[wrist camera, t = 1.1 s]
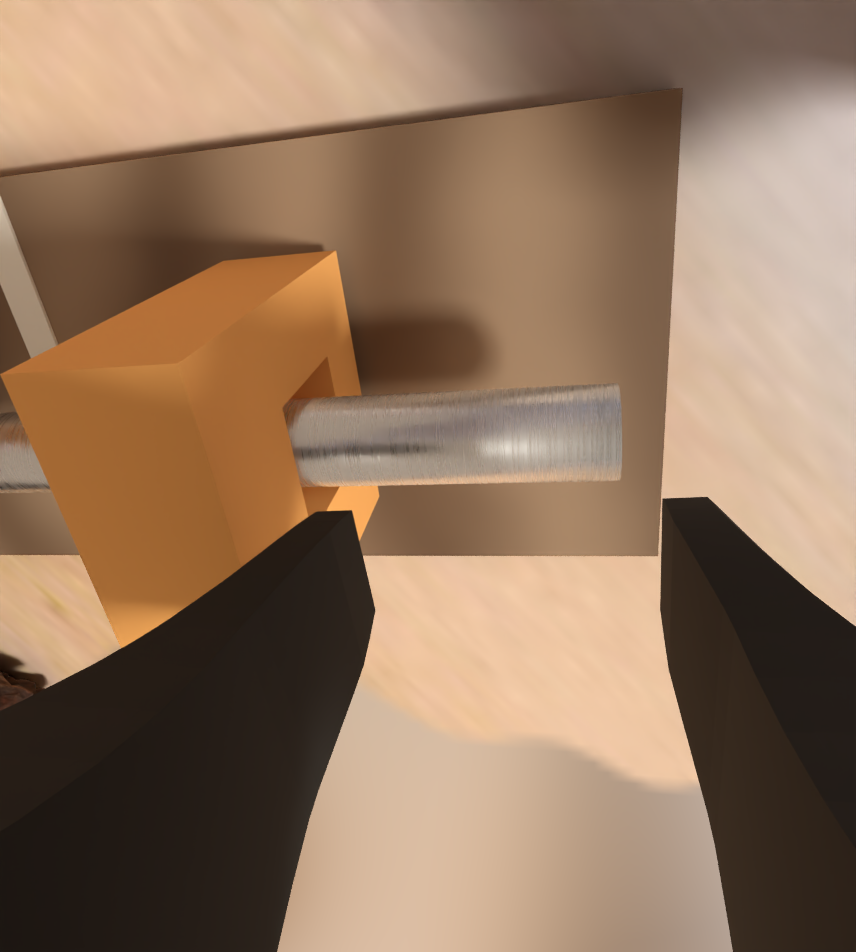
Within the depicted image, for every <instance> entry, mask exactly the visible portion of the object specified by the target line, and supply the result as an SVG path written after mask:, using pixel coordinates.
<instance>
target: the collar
mask: <svg viewBox="0 0 856 952" xmlns="http://www.w3.org/2000/svg"><path fill="white" fill-rule="evenodd" d="M0 375H1V378H2V380H3V382H4V384H5V387H6V389H7V391H8V393H9V396H10V398H11V400H12V402H13V405H14V407H15V409H16V411H17V414H18V416H19V418H20V421H21V423H22V425H23V427H24V430H25V432H26V434H27V436H28V439H29V441H30V443H31V445H32V448H33V450H34V452H35V454H36V457H37V459H38V461H39V463H40V466H41V468H42V470H43V473H44V475H45V477H46V479H47V482H48V484H49V486H50V488H51V491H52V493H53V495H54V497H55V500H56V502H57V504H58V506H59V509H60V511H61V513H62V515H63V518H64V520H65V522H66V525H67V527H68V529H69V531H70V534H71V536H72V538H73V540H74V543H75V545H76V547H77V549H78V552H79V554H80V556H81V558H82V561H83V563H84V565H85V567H86V570H87V572H88V574H89V577H90V579H91V581H92V583H93V586H94V588H95V590H96V592H97V595H98V597H99V599H100V601H101V604H102V606H103V608H104V610H105V613H106V615H107V617H108V619H109V622H110V624H111V626H112V629H113V631H114V633H115V635H116V638H117V640H118V642H119V644H120V647H121V648H123V647H124V646H126V645H128V644H130V643H131V642H133V641H135V640H136V639H138V638H140V637H141V636H143V635H145V634H146V633H148V632H149V631H151V630H152V629H154V628H156V627H157V626H159V625H160V624H162V623H163V622H165V621H166V620H168V619H170V618H171V617H173V616H174V615H175V614H177V613H178V612H180V611H181V610H183V609H184V608H185V607H187V606H188V605H190V604H191V603H192V602H194V601H195V600H197V599H198V598H200V597H201V596H202V595H204V594H205V593H207V592H208V591H210V590H211V589H212V588H214V587H215V586H217V585H218V584H219V583H221V582H222V581H224V580H225V579H226V578H228V577H229V576H230V575H232V574H233V573H234V572H236V571H237V570H238V569H240V568H241V567H242V566H243V565H245V564H246V563H247V562H249V561H250V560H251V559H253V558H254V557H255V556H257V555H258V554H259V553H261V552H262V551H263V550H264V549H266V548H267V547H268V546H270V545H271V544H272V543H273V542H275V541H276V540H277V539H279V538H280V537H281V536H283V535H284V534H285V533H286V532H288V531H289V530H290V529H292V528H293V527H294V526H296V525H297V524H299V523H300V522H301V521H303V520H304V519H306V518H307V517H309V516H310V515H312V514H313V513H315V512H317V511H342V510H352V512H353V516H354V520H355V525H356V529H357V533H358V538H359V541H360V539H361V537H362V534H363V532H364V530H365V527H366V525H367V523H368V521H369V518H370V516H371V514H372V512H373V509H374V507H375V505H376V503H377V500H378V498H379V491H378V486H336V487H301V484H300V480H299V476H298V471H297V467H296V463H295V459H294V455H293V450H292V446H291V442H290V438H289V434H288V429H287V425H286V421H285V417H284V413H283V408H282V407H283V406H284V405H285V404H286V403H287V402H288V401H289V399H298V398H318V397H339V396H360V395H362V394H361V389H360V383H359V377H358V372H357V366H356V360H355V355H354V349H353V344H352V338H351V332H350V327H349V321H348V315H347V310H346V304H345V298H344V293H343V287H342V281H341V276H340V270H339V264H338V259H337V253H336V250H333V251H322V252H312V253H301V254H291V255H280V256H269V257H259V258H248V259H237V260H227V261H222V262H220V263H218V264H216V265H214V266H212V267H210V268H208V269H206V270H204V271H202V272H200V273H198V274H196V275H194V276H193V277H191V278H189V279H187V280H185V281H183V282H181V283H179V284H177V285H175V286H173V287H171V288H169V289H167V290H165V291H163V292H161V293H159V294H157V295H155V296H153V297H151V298H149V299H147V300H145V301H143V302H141V303H139V304H137V305H135V306H134V307H132V308H130V309H128V310H126V311H124V312H122V313H120V314H118V315H116V316H114V317H112V318H110V319H108V320H106V321H104V322H102V323H100V324H98V325H96V326H94V327H92V328H90V329H88V330H86V331H84V332H82V333H80V334H78V335H76V336H74V337H73V338H71V339H69V340H67V341H65V342H63V343H61V344H59V345H57V346H55V347H53V348H51V349H49V350H47V351H45V352H43V353H41V354H39V355H37V356H35V357H33V358H31V359H29V360H27V361H25V362H23V363H21V364H19V365H17V366H15V367H14V368H12V369H10V370H8V371H6V372H4V373H2V374H0Z"/></svg>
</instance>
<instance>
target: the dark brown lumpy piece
mask: <svg viewBox="0 0 856 952" xmlns="http://www.w3.org/2000/svg"><path fill="white" fill-rule="evenodd" d="M44 689H45V688H37V689H36V684H35V683H34V682H32V681H29V680H25V679H22V680H16V679H14V678H13V677H8V673H3V672H0V711H1V710H3V709H5V708H7V707H9V706H12V705H14V704H16V703H18V702H20V701H22V700H24V699H26V698H28V697H30V696H32V695H34V694H36V693H38V692H40V691H42V690H44Z"/></svg>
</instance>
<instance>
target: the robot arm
mask: <svg viewBox="0 0 856 952" xmlns="http://www.w3.org/2000/svg"><path fill="white" fill-rule="evenodd" d="M660 610H661V618H662V625H663V632H664V640H665V647H666V653H667V660H668V667H669V672H670V676H671V679H672V683H673V687H674V691H675V695H676V698H677V702H678V706H679V709H680V713H681V717H682V721H683V724H684V728H685V732H686V735H687V739H688V743H689V746H690V750H691V754H692V757H693V761H694V765H695V768H696V772H697V776H698V779H699V783H700V787H701V791H702V794H703V798H704V801H705V805H706V809H707V813H708V817H709V821H710V825H711V830H712V835H713V838H714V843H715V848H716V854H717V860H718V865H719V871H720V876H721V883H722V889H723V895H724V900H725V906H726V912H727V918H728V924H729V930H730V936H731V942H732V948H733V952H856V626H854V625H853V624H851V623H850V622H849V621H847V620H846V619H845V618H844V617H842V616H841V615H840V614H838V613H837V612H836V611H834V610H833V609H832V608H831V607H829V606H828V605H827V604H825V603H824V602H823V601H821V600H820V599H819V598H818V597H816V596H815V595H814V594H812V593H811V592H810V591H809V590H808V589H806V588H805V587H804V586H803V585H802V584H800V583H799V582H798V581H797V580H796V579H795V578H794V577H792V576H791V575H790V574H789V573H788V572H787V571H786V570H784V569H783V568H782V567H781V566H780V565H779V564H778V563H776V562H775V561H774V560H773V559H772V558H771V557H770V556H769V555H768V554H767V553H765V552H764V551H763V550H762V549H761V548H760V547H759V546H758V545H757V544H756V543H755V542H754V541H753V540H752V539H751V538H749V537H748V536H747V535H746V534H745V533H744V532H743V531H742V530H741V529H740V528H739V527H738V526H737V525H736V524H735V523H734V522H733V521H732V520H731V519H730V518H729V517H728V516H727V515H726V514H725V513H724V512H723V511H722V510H721V509H720V508H719V507H718V506H717V505H716V504H714V503H713V502H712V501H711V500H710V499H709V498H708V497H694V498H667V499H663V503H662V552H661V600H660ZM374 614H375V607H374V602H373V598H372V594H371V589H370V585H369V581H368V576H367V572H366V568H365V564H364V559H363V555H362V551H361V546H360V542H359V538H358V533H357V529H356V525H355V520H354V516H353V512H352V510H342V511H317V512H315V513H313V514H312V515H310V516H309V517H307V518H306V519H304V520H303V521H301V522H300V523H299V524H297V525H296V526H294V527H293V528H292V529H290V530H289V531H288V532H286V533H285V534H284V535H283V536H281V537H280V538H279V539H277V540H276V541H275V542H273V543H272V544H271V545H270V546H268V547H267V548H266V549H264V550H263V551H262V552H261V553H259V554H258V555H257V556H255V557H254V558H253V559H251V560H250V561H249V562H247V563H246V564H245V565H243V566H242V567H241V568H240V569H238V570H237V571H236V572H234V573H233V574H232V575H230V576H229V577H228V578H226V579H225V580H224V581H222V582H221V583H219V584H218V585H217V586H215V587H214V588H212V589H211V590H210V591H208V592H207V593H205V594H204V595H202V596H201V597H200V598H198V599H197V600H195V601H194V602H192V603H191V604H190V605H188V606H187V607H185V608H184V609H183V610H181V611H180V612H178V613H177V614H175V615H174V616H173V617H171V618H170V619H168V620H166V621H165V622H163V623H162V624H160V625H159V626H157V627H156V628H154V629H152V630H151V631H149V632H148V633H146V634H145V635H143V636H141V637H140V638H138V639H136V640H135V641H133V642H131V643H130V644H128V645H126V646H124V647H123V648H121V649H119V650H118V651H116V652H114V653H113V654H111V655H109V656H107V657H106V658H104V659H102V660H100V661H98V662H97V663H95V664H93V665H91V666H89V667H87V668H85V669H83V670H81V671H79V672H77V673H76V674H74V675H72V676H70V677H68V678H66V679H64V680H62V681H60V682H58V683H56V684H54V685H52V686H50V687H48V688H46V689H44V690H42V691H40V692H38V693H36V694H34V695H32V696H30V697H28V698H26V699H24V700H22V701H20V702H18V703H16V704H14V705H12V706H9V707H7V708H5V709H3V710H1V711H0V952H277V949H278V945H279V941H280V936H281V932H282V928H283V923H284V919H285V914H286V910H287V906H288V901H289V897H290V893H291V889H292V884H293V880H294V877H295V873H296V869H297V864H298V861H299V856H300V853H301V849H302V845H303V841H304V837H305V833H306V829H307V825H308V822H309V818H310V815H311V812H312V809H313V806H314V802H315V799H316V796H317V793H318V790H319V787H320V784H321V782H322V779H323V776H324V773H325V771H326V768H327V765H328V763H329V760H330V757H331V754H332V752H333V749H334V746H335V743H336V741H337V738H338V735H339V733H340V730H341V727H342V724H343V722H344V719H345V716H346V714H347V711H348V708H349V705H350V702H351V699H352V697H353V694H354V691H355V688H356V686H357V683H358V680H359V677H360V674H361V671H362V668H363V666H364V661H365V657H366V653H367V648H368V644H369V639H370V634H371V629H372V624H373V619H374Z"/></svg>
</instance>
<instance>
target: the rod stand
mask: <svg viewBox="0 0 856 952" xmlns="http://www.w3.org/2000/svg"><path fill="white" fill-rule="evenodd" d="M682 90H683V88H675V89H668V90H660V91H653V92H645V93H637V94H630V95H622V96H614V97H607V98H599V99H591V100H584V101H576V102H569V103H561V104H553V105H546V106H538V107H530V108H523V109H515V110H507V111H500V112H492V113H485V114H477V115H469V116H462V117H454V118H446V119H439V120H431V121H423V122H416V123H408V124H400V125H393V126H385V127H378V128H370V129H362V130H355V131H347V132H339V133H332V134H324V135H316V136H309V137H301V138H294V139H286V140H278V141H271V142H263V143H255V144H248V145H240V146H232V147H225V148H217V149H209V150H202V151H194V152H187V153H179V154H171V155H164V156H156V157H148V158H141V159H133V160H125V161H118V162H110V163H103V164H95V165H87V166H80V167H72V168H64V169H57V170H49V171H41V172H34V173H26V174H18V175H11V176H3V177H0V374H2V373H4V372H6V371H8V370H10V369H12V368H14V367H15V366H17V365H19V364H21V363H23V362H25V361H27V360H29V359H31V358H33V357H35V356H37V355H39V354H41V353H43V352H45V351H47V350H49V349H51V348H53V347H55V346H57V345H59V344H61V343H63V342H65V341H67V340H69V339H71V338H73V337H74V336H76V335H78V334H80V333H82V332H84V331H86V330H88V329H90V328H92V327H94V326H96V325H98V324H100V323H102V322H104V321H106V320H108V319H110V318H112V317H114V316H116V315H118V314H120V313H122V312H124V311H126V310H128V309H130V308H132V307H134V306H135V305H137V304H139V303H141V302H143V301H145V300H147V299H149V298H151V297H153V296H155V295H157V294H159V293H161V292H163V291H165V290H167V289H169V288H171V287H173V286H175V285H177V284H179V283H181V282H183V281H185V280H187V279H189V278H191V277H193V276H194V275H196V274H198V273H200V272H202V271H204V270H206V269H208V268H210V267H212V266H214V265H216V264H218V263H220V262H222V261H227V260H237V259H248V258H259V257H269V256H280V255H291V254H301V253H312V252H322V251H333V250H336V253H337V259H338V264H339V270H340V276H341V281H342V287H343V293H344V298H345V304H346V310H347V315H348V321H349V327H350V332H351V338H352V344H353V349H354V355H355V360H356V366H357V372H358V377H359V383H360V389H361V394H362V395H360V396H339V397H318V398H298V399H289V401H288V402H287V403H286V404H285V405H284V406H283V407H282V408H283V413H284V417H285V421H286V425H287V429H288V434H289V438H290V442H291V446H292V450H293V455H294V459H295V463H296V467H297V471H298V476H299V480H300V484H301V487H336V486H378V491H379V498H378V500H377V503H376V505H375V507H374V509H373V512H372V514H371V516H370V518H369V521H368V523H367V525H366V527H365V530H364V532H363V534H362V537H361V539H360V541H359V542H360V546H361V551H362V555H366V556H658V544H659V525H660V506H661V487H662V468H663V449H664V430H665V411H666V392H667V373H668V355H669V336H670V317H671V298H672V279H673V260H674V241H675V222H676V203H677V185H678V166H679V147H680V128H681V109H682ZM0 555H80V554H79V552H78V549H77V547H76V545H75V543H74V540H73V538H72V536H71V534H70V531H69V529H68V527H67V525H66V522H65V520H64V518H63V515H62V513H61V511H60V509H59V506H58V504H57V502H56V500H55V497H54V495H53V493H52V491H51V488H50V486H49V484H48V482H47V479H46V477H45V475H44V473H43V470H42V468H41V466H40V463H39V461H38V459H37V457H36V454H35V452H34V450H33V448H32V445H31V443H30V441H29V439H28V436H27V434H26V432H25V430H24V427H23V425H22V423H21V421H20V418H19V416H18V414H17V411H16V409H15V407H14V405H13V402H12V400H11V398H10V396H9V393H8V391H7V389H6V387H5V384H4V382H3V380H2V378H1V375H0Z"/></svg>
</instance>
